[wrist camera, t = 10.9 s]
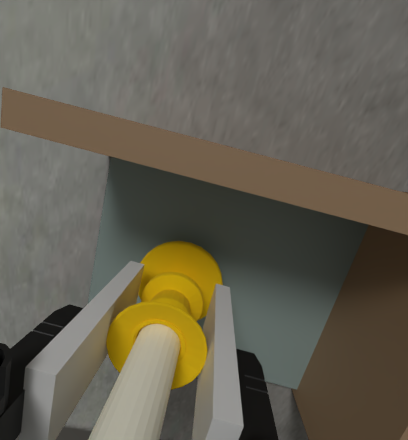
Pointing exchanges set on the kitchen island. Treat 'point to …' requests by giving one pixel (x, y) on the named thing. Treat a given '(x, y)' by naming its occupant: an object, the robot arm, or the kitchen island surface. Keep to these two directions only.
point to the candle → (158, 340)
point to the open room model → (263, 257)
